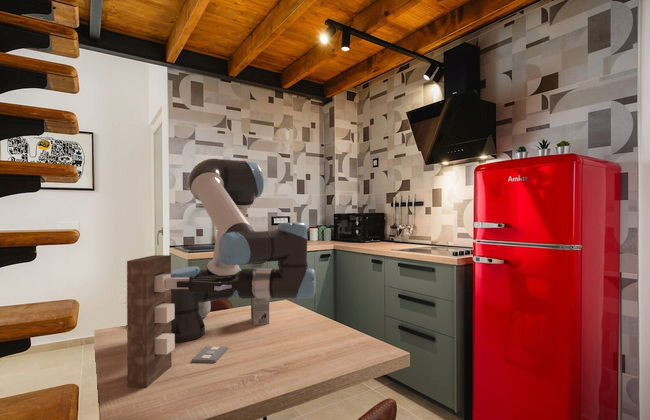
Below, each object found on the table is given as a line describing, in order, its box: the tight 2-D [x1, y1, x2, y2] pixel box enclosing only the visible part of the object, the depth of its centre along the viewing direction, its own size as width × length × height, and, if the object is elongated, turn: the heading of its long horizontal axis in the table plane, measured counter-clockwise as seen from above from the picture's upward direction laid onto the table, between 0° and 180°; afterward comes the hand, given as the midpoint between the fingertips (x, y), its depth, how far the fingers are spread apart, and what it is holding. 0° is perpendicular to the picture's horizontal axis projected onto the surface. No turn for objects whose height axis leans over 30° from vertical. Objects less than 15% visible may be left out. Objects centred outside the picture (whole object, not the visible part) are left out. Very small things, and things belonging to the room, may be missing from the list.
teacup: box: [200, 301, 212, 319], centre depth 148 cm, size 14×11×8 cm
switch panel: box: [126, 254, 172, 388], centre depth 93 cm, size 5×12×31 cm, turn 176°
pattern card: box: [191, 345, 228, 363], centre depth 106 cm, size 7×10×1 cm
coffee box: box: [250, 296, 270, 326], centre depth 140 cm, size 9×6×16 cm
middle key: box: [154, 304, 175, 323], centre depth 93 cm, size 4×4×4 cm
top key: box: [154, 274, 171, 292], centre depth 93 cm, size 4×4×4 cm
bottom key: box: [155, 333, 176, 354], centre depth 93 cm, size 4×4×4 cm
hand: (167, 283), depth 93 cm, fingers closed
